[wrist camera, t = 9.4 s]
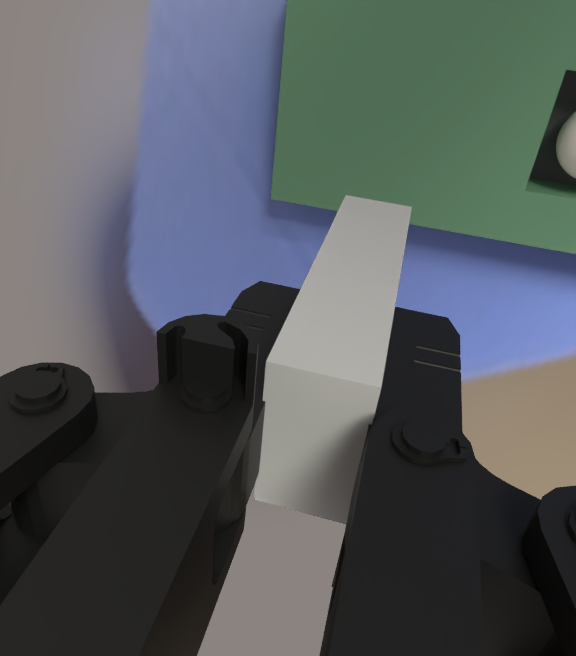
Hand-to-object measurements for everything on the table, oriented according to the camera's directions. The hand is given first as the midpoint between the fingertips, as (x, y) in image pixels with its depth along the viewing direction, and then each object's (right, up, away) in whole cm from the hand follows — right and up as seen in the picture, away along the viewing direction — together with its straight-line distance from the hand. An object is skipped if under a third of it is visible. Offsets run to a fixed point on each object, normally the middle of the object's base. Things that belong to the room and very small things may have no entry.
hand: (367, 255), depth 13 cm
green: (+9, +10, +18) cm, 23 cm away
